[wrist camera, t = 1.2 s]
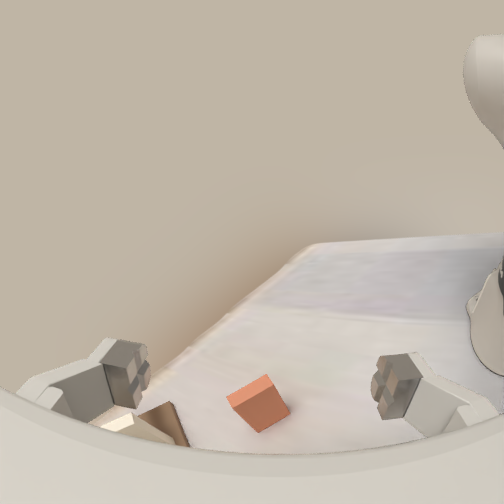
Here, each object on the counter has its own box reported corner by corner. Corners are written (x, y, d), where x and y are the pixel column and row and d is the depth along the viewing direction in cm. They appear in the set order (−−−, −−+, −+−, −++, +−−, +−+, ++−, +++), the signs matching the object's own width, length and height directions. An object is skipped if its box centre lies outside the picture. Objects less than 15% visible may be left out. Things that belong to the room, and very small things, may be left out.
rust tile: (252, 423, 35) (226, 396, 29) (284, 405, 36) (266, 373, 30) (257, 432, 34) (232, 408, 28) (290, 413, 35) (273, 384, 29)
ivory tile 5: (145, 450, 33) (100, 426, 27) (172, 438, 34) (131, 412, 28) (148, 459, 32) (102, 436, 26) (176, 447, 33) (134, 423, 27)
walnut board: (173, 403, 40) (168, 400, 39) (245, 554, 20) (242, 555, 19) (132, 422, 39) (128, 420, 38) (190, 569, 18) (185, 570, 18)
